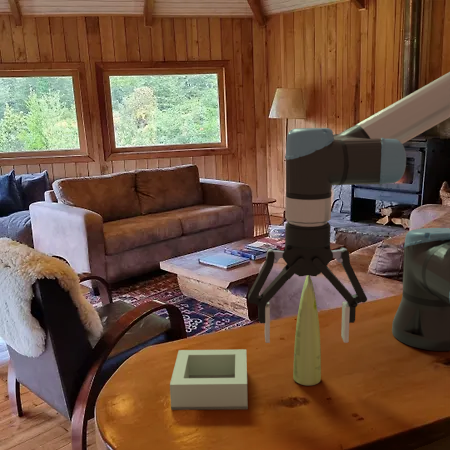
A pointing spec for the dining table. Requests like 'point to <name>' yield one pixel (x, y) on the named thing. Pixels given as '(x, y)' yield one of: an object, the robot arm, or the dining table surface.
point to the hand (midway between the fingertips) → (305, 339)
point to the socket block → (209, 380)
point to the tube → (307, 339)
